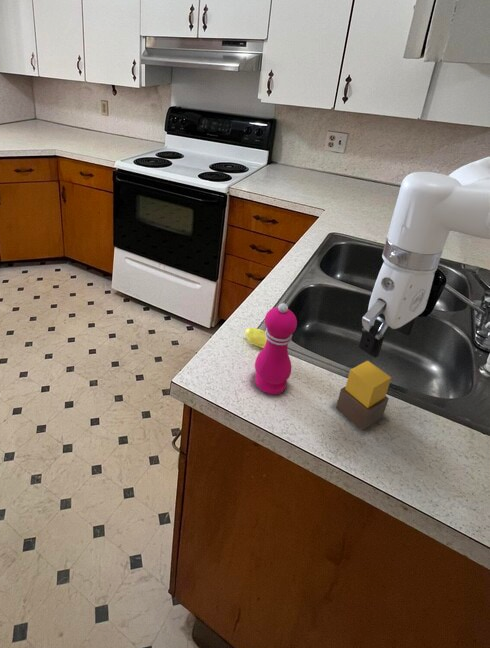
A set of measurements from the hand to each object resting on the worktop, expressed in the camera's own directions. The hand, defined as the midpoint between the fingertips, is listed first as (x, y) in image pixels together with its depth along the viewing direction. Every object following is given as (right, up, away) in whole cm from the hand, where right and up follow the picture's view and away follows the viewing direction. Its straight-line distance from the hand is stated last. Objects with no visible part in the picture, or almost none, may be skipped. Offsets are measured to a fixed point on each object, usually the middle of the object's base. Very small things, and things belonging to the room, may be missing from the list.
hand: (384, 341), depth 72 cm
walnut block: (0, -17, +10) cm, 19 cm away
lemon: (-15, -8, +27) cm, 32 cm away
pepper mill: (-15, -13, +16) cm, 26 cm away
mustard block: (0, -12, +8) cm, 14 cm away
